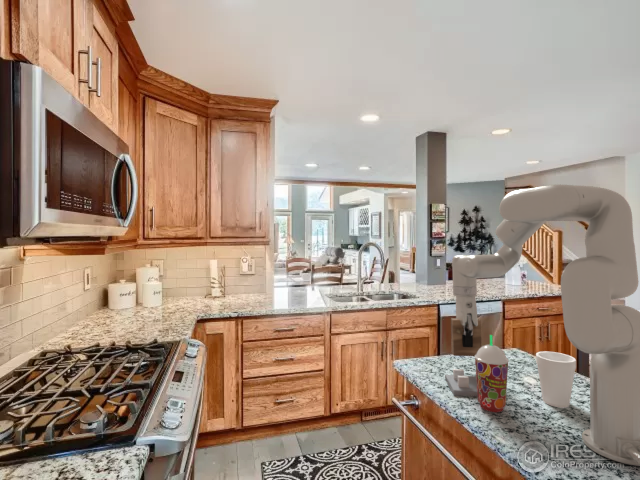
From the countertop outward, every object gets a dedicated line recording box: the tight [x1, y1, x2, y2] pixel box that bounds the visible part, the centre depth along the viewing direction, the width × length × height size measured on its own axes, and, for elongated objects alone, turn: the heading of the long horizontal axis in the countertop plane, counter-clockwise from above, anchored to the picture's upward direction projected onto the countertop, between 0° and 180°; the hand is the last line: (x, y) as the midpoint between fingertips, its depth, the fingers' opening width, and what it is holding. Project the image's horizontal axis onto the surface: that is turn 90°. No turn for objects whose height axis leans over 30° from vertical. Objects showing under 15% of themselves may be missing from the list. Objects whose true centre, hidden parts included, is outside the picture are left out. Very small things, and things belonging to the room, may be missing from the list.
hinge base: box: [444, 368, 478, 398], centre depth 109 cm, size 12×14×4 cm
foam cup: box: [535, 350, 577, 409], centre depth 99 cm, size 10×9×13 cm
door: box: [450, 317, 483, 357], centre depth 119 cm, size 4×9×12 cm, turn 82°
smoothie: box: [474, 334, 509, 413], centre depth 97 cm, size 8×8×20 cm
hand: (466, 344), depth 119 cm, fingers closed on door, 3 cm apart
